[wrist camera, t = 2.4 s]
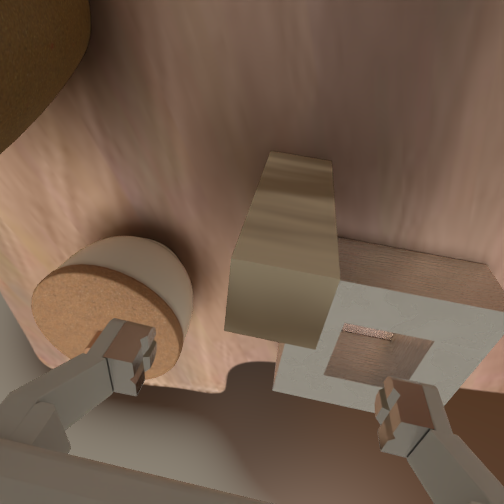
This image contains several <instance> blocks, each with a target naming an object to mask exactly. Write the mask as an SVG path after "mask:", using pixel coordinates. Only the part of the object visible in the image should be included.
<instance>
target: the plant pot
mask: <svg viewBox="0 0 504 504" xmlns="http://www.w3.org/2000/svg"><path fill="white" fill-rule="evenodd" d="M90 32H91V14H90V6H89V1H88V0H0V154H1V153H2V152H3V151H4V150H5V149H6V148H8V147H9V146H10V145H11V144H12V143H13V142H14V141H15V140H16V139H17V138H18V137H19V136H20V135H21V134H22V133H23V132H24V131H25V130H26V129H27V128H28V127H29V126H30V125H31V124H32V123H33V122H34V121H35V120H36V119H37V118H38V117H39V116H40V114H41V113H42V112H43V111H44V110H45V109H46V108H47V106H48V105H49V104H50V103H51V102H52V100H53V99H54V98H55V97H56V95H57V94H58V93H59V92H60V90H61V89H62V88H63V86H64V85H65V84H66V82H67V81H68V79H69V78H70V76H71V75H72V74H73V72H74V70H75V69H76V67H77V66H78V64H79V63H80V61H81V59H82V57H83V55H84V53H85V51H86V49H87V46H88V43H89V39H90Z"/></svg>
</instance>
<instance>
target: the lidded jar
mask: <svg viewBox="0 0 504 504" xmlns="http://www.w3.org/2000/svg"><path fill="white" fill-rule="evenodd" d="M31 307H32V312H33V316H34V319H35V321H36V324H37V325H38V327H39V329H40V330H41V332H42V333H43V334H44V336H45V337H46V338H47V339H48V340H49V341H50V342H51V343H52V344H53V345H54V346H55V347H56V348H57V349H58V350H59V351H60V352H62V353H63V354H64V355H66V356H67V357H69V358H70V359H73V358H74V357H76V356H78V355H80V354H82V353H84V354H87V352H88V351H89V350H90V348H91V347H92V345H93V344H94V342H95V341H96V340H97V338H98V337H99V335H100V334H101V333H102V331H103V330H104V328H105V327H106V326H107V324H108V323H109V321H111V320H112V319H113V318H117V319H121V320H126V321H130V322H134V323H138V324H143V325H147V326H151V327H155V328H156V336H155V338H154V340H155V341H156V342H157V352H156V356H155V359H154V362H153V364H152V366H151V368H150V369H149V370H147V371H146V372H145V380H146V379H152V378H156V377H158V376H161V375H163V374H165V373H166V372H168V371H169V370H171V368H172V367H173V366H174V365H175V364H176V362H177V360H178V358H179V356H180V353H181V350H182V346H183V342H184V340H185V337H186V334H187V332H188V329H189V325H190V320H191V316H192V312H193V289H192V284H191V281H190V278H189V276H188V273H187V271H186V270H185V268H184V266H183V265H182V264H181V262H180V260H179V259H178V257H177V256H176V255H175V254H174V253H173V252H172V251H171V250H170V249H169V248H168V247H166V246H165V245H163V244H162V243H160V242H157V241H155V240H152V239H148V238H141V237H136V236H115V237H109V238H106V239H102V240H99V241H96V242H94V243H92V244H90V245H88V246H86V247H84V248H83V249H81V250H79V251H78V252H77V253H75V254H74V255H72V256H71V257H70V258H69V259H67V260H66V261H65V262H64V263H63V264H62V265H61V266H59V267H58V268H57V269H56V270H55V271H53V272H51V273H50V274H49V275H48V276H46V277H45V278H44V279H43V280H42V281H41V282H40V283H39V284H38V285H37V287H36V288H35V290H34V292H33V295H32V305H31Z"/></svg>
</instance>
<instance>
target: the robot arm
mask: <svg viewBox="0 0 504 504" xmlns="http://www.w3.org/2000/svg"><path fill="white" fill-rule="evenodd" d="M155 336H156V328H155V327H151V326H147V325H143V324H138V323H134V322H130V321H126V320H121V319H117V318H113V319H112V320H111V321H109V323H108V324H107V326H106V327H105V328H104V330H103V331H102V333H101V334H100V335H99V337H98V338H97V340H96V341H95V342H94V344H93V345H92V347H91V348H90V350H89V351H88V352H87V354H84V353H82V354H80V355H78V356H76V357H74V358H73V359H71V360H69V361H67V362H65V363H63V364H62V365H60V366H58V367H56V368H54V369H52V370H51V371H49V372H47V373H45V374H43V375H41V376H40V377H38V378H36V379H34V380H32V381H30V382H29V383H27V384H25V385H23V386H21V387H20V388H18V389H16V390H14V391H12V392H10V393H9V395H8V396H7V397H6V398H5V400H4V401H3V402H2V403H1V404H0V504H273V503H268V502H265V501H261V500H256V499H252V498H248V497H244V496H240V495H236V494H231V493H227V492H223V491H219V490H215V489H211V488H207V487H202V486H198V485H194V484H190V483H186V482H181V481H178V480H174V479H169V478H165V477H161V476H157V475H153V474H148V473H144V472H140V471H136V470H132V469H127V468H124V467H119V466H115V465H111V464H107V463H103V462H99V461H94V460H90V459H86V458H82V457H78V456H73V455H70V454H68V453H69V451H70V449H71V446H70V443H69V440H68V438H67V436H66V433H65V430H67V429H68V428H69V427H70V426H72V425H73V424H74V423H75V422H77V421H78V420H79V419H81V418H82V417H83V416H84V415H86V414H87V413H88V412H89V411H91V410H92V409H93V408H95V407H96V406H97V405H98V404H100V403H101V402H102V401H103V400H105V399H106V398H107V397H109V396H110V395H111V394H112V393H113V392H118V393H123V394H128V395H133V396H137V395H138V393H139V391H140V389H141V387H142V385H143V383H144V381H145V372H146V371H147V370H149V369H150V368H151V366H152V364H153V362H154V359H155V356H156V352H157V342H156V341H155V340H154V338H155ZM375 416H376V419H377V420H378V422H379V423H380V424H381V426H380V428H379V429H378V438H379V444H380V451H382V452H386V453H390V454H394V455H398V456H402V457H406V458H407V461H408V462H409V464H410V466H411V467H412V469H413V470H414V472H415V474H416V475H417V477H418V478H419V480H420V482H421V483H422V485H423V486H424V488H425V490H426V491H427V493H428V494H429V496H430V498H431V499H432V501H433V503H434V504H504V487H503V486H502V484H501V483H500V482H499V481H498V480H497V479H496V478H495V477H494V475H493V474H492V473H491V472H490V471H489V470H488V469H487V468H486V467H485V465H484V464H483V463H482V462H481V461H480V460H479V459H478V458H477V456H476V455H475V454H474V453H473V452H472V451H471V450H470V449H469V447H468V446H467V445H466V444H465V443H464V442H463V441H462V440H461V439H460V437H458V435H454V434H453V433H452V430H451V427H450V424H449V421H448V418H447V415H446V412H445V409H444V406H443V403H442V400H441V397H440V394H439V391H438V389H437V387H436V386H434V385H430V384H425V383H420V382H417V381H412V380H407V379H402V378H396V377H391V376H388V377H387V378H386V379H385V381H384V388H382V389H380V390H379V391H378V393H377V395H376V399H375Z"/></svg>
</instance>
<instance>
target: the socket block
mask: <svg viewBox="0 0 504 504" xmlns="http://www.w3.org/2000/svg"><path fill="white" fill-rule="evenodd" d="M337 240H338V254H339V267H340V282H339V285H338V287H337V290H336V293H335V296H334V299H333V302H332V304H331V307H330V310H329V313H328V316H327V318H326V321H325V324H324V327H323V330H322V333H321V335H320V338H319V341H318V344H317V347H316V350H314V349H309V348H304V347H299V346H295V345H290V344H285V343H280V342H279V344H278V351H277V359H276V367H275V374H274V383H273V391H277V392H282V393H286V394H291V395H296V396H300V397H305V398H309V399H314V400H318V401H323V402H328V403H332V404H337V405H341V406H346V407H350V408H355V409H359V410H364V411H368V412H373V413H375V399H376V395H377V393H378V391H379V390H380V389H382V388H384V381H385V379H386V378H387V377H388V376H391V377H396V378H402V379H407V380H412V381H417V382H420V383H425V384H430V385H434V386H436V387H437V389H438V391H439V394H440V397H441V400H442V403H443V406H444V405H445V404H446V403H447V402H448V401H449V399H450V398H451V397H452V396H453V394H454V393H455V392H456V391H457V390H458V389H459V387H460V386H461V385H462V384H463V383H464V381H465V380H466V379H467V378H468V377H469V376H470V374H471V373H472V372H473V371H474V370H475V368H476V367H477V366H478V365H479V364H480V362H481V361H482V360H483V359H484V358H485V356H486V355H487V354H488V353H489V352H490V350H491V349H492V348H493V347H494V346H495V345H496V343H497V342H498V341H499V340H500V339H501V337H502V336H503V335H504V290H503V289H502V287H501V286H500V284H499V282H498V281H497V279H496V278H495V276H494V275H493V273H492V272H491V270H490V269H489V267H488V266H487V265H485V264H480V263H474V262H469V261H464V260H458V259H453V258H447V257H442V256H437V255H431V254H426V253H420V252H415V251H410V250H404V249H399V248H393V247H388V246H383V245H377V244H372V243H366V242H361V241H356V240H350V239H345V238H340V237H337ZM344 323H348V324H353V325H358V326H362V327H367V328H372V329H377V330H382V331H387V332H392V333H394V335H393V337H392V339H391V340H390V341H389V340H384V339H379V338H374V337H370V336H365V335H360V334H355V333H350V332H345V331H341V330H342V327H343V325H344Z"/></svg>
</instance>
